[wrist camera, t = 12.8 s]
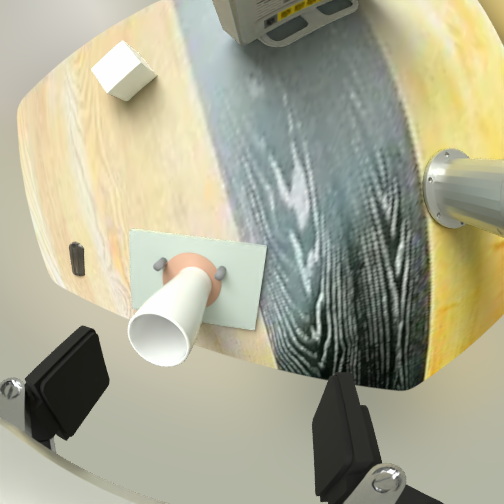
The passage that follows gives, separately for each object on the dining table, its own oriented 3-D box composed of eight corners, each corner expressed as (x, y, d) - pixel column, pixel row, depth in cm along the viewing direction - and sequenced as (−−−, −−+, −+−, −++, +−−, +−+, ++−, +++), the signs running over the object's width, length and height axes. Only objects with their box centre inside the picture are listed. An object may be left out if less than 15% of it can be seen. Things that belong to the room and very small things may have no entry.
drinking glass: (174, 255, 38) (125, 302, 23) (220, 265, 38) (193, 320, 23) (170, 298, 40) (128, 357, 25) (214, 308, 39) (188, 375, 25)
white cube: (111, 79, 32) (90, 69, 26) (139, 53, 31) (122, 39, 25) (127, 102, 33) (106, 93, 27) (157, 75, 32) (140, 62, 26)
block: (77, 270, 43) (70, 274, 41) (72, 239, 41) (65, 242, 39) (90, 274, 42) (83, 278, 40) (85, 241, 40) (78, 245, 38)
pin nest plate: (266, 245, 38) (266, 253, 34) (254, 326, 42) (253, 339, 38) (133, 228, 38) (121, 233, 35) (135, 305, 42) (125, 315, 38)
